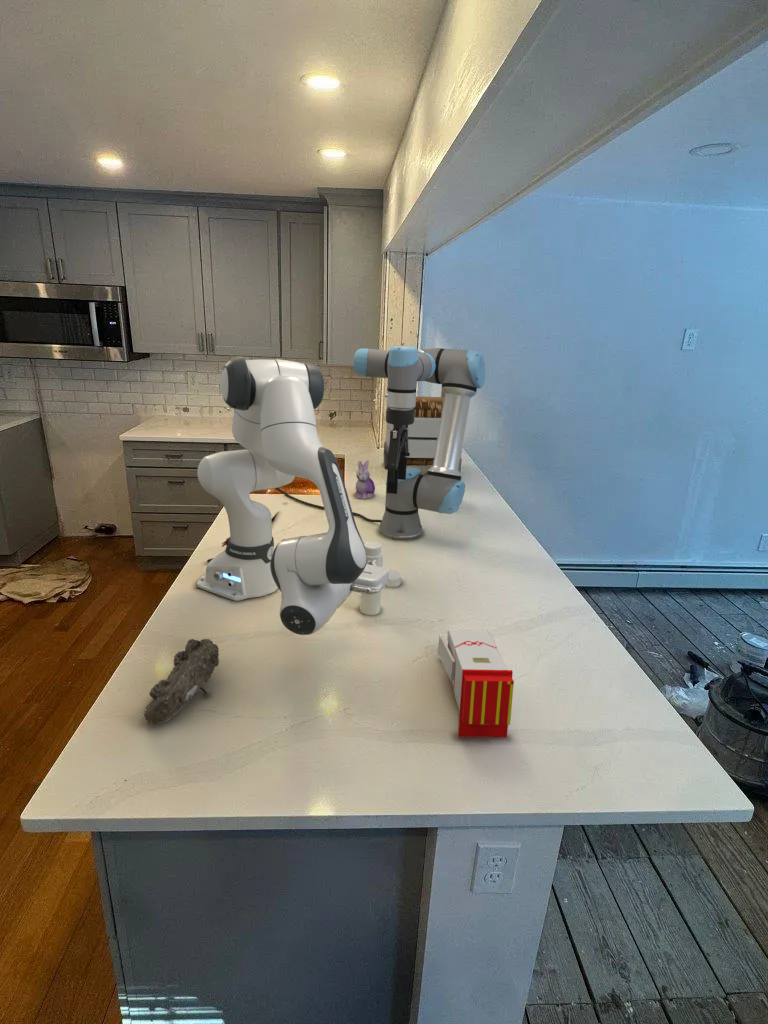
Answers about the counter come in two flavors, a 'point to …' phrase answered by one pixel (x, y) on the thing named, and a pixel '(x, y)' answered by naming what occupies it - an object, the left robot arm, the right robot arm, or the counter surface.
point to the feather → (274, 517)
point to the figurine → (364, 482)
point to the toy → (478, 682)
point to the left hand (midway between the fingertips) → (354, 558)
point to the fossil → (183, 680)
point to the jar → (373, 602)
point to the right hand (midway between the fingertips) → (396, 486)
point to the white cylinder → (394, 579)
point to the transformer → (422, 432)
